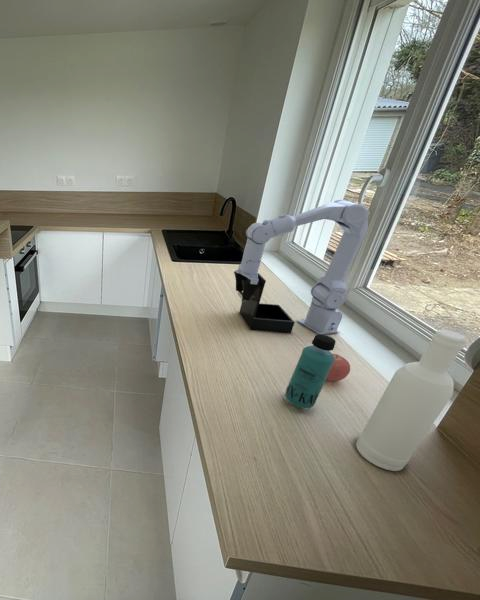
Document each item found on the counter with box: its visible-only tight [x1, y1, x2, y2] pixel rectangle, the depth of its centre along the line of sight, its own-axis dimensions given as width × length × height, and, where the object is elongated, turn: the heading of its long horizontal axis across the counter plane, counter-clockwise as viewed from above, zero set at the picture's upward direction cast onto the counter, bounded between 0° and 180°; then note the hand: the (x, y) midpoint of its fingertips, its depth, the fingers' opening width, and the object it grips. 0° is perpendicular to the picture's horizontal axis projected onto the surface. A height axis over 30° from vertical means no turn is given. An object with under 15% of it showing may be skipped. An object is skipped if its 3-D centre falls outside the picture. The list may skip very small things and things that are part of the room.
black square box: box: [238, 302, 296, 334], centre depth 118 cm, size 13×13×5 cm
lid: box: [237, 272, 267, 318], centre depth 115 cm, size 14×13×4 cm
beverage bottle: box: [284, 333, 336, 410], centre depth 77 cm, size 6×7×20 cm
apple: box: [325, 353, 351, 382], centre depth 89 cm, size 7×7×8 cm
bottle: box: [355, 329, 468, 472], centre depth 61 cm, size 8×8×30 cm
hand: (242, 295), depth 115 cm, fingers open, 7 cm apart
